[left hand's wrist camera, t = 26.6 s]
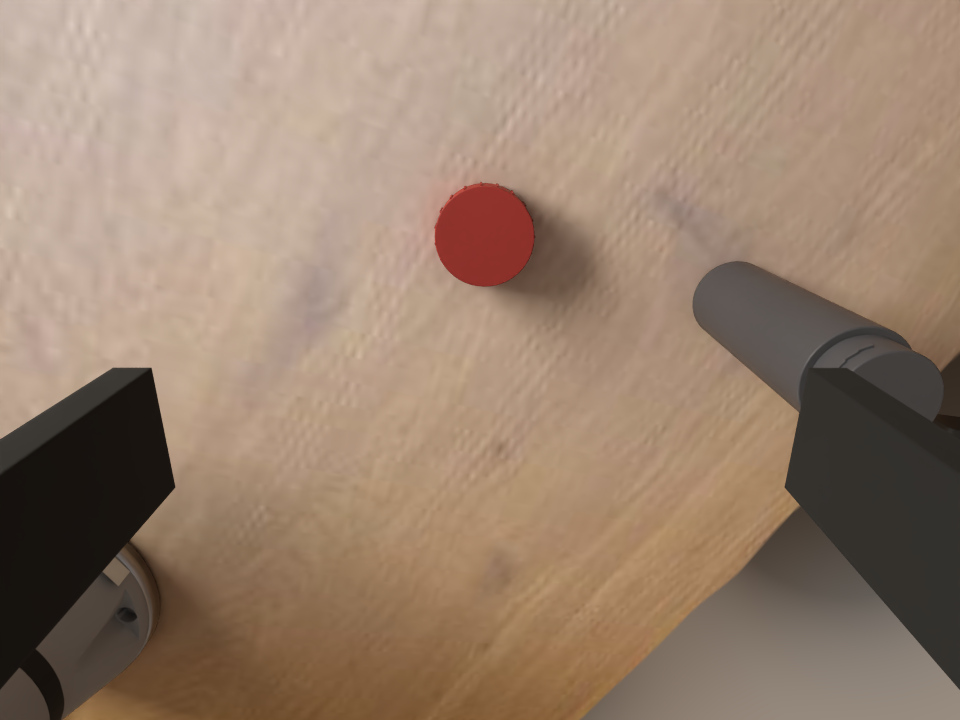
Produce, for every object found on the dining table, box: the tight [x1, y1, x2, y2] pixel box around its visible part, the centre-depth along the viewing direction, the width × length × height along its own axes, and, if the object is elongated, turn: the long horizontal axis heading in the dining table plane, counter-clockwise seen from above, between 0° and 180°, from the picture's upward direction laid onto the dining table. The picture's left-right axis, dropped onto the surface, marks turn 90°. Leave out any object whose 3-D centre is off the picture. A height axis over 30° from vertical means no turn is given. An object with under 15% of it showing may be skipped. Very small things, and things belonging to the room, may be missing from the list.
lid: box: [435, 182, 535, 287], centre depth 36 cm, size 6×6×2 cm
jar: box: [693, 262, 944, 422], centre depth 31 cm, size 5×5×16 cm
